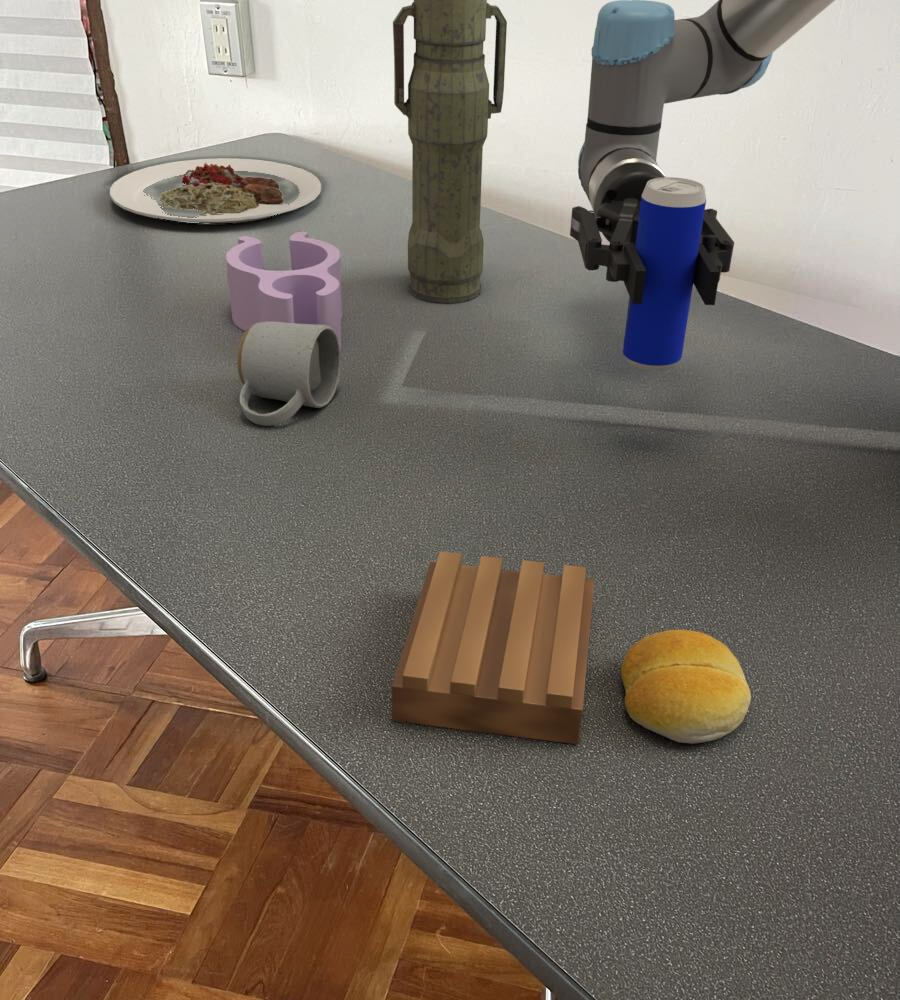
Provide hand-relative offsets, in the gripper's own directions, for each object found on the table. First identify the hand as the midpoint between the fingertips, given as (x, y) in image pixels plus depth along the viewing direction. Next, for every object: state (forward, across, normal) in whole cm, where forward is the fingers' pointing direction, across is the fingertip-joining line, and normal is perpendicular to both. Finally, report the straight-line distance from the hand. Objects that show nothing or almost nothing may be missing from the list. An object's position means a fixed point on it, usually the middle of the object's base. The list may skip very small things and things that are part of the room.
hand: (675, 287), depth 86 cm
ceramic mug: (-12, +33, -17) cm, 39 cm away
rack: (+27, +15, -17) cm, 35 cm away
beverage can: (-5, 0, -9) cm, 10 cm away
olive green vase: (-43, +18, -17) cm, 49 cm away
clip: (-32, +35, -17) cm, 50 cm away
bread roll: (+30, +3, -17) cm, 35 cm away
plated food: (-77, +50, -16) cm, 94 cm away
